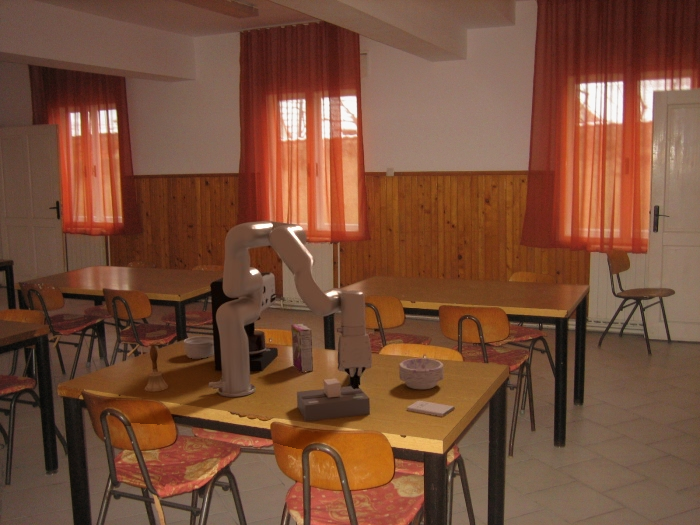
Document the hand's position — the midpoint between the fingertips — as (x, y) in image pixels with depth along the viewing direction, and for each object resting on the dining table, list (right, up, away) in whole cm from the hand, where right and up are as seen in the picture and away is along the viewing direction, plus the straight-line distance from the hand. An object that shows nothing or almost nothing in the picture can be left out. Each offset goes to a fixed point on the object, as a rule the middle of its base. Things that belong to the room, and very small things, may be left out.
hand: (355, 387), depth 217 cm
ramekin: (-64, 0, +73) cm, 97 cm away
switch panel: (-7, -7, -1) cm, 10 cm away
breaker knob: (-7, -2, -2) cm, 8 cm away
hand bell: (-70, -6, +28) cm, 76 cm away
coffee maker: (-43, -1, +57) cm, 71 cm away
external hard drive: (+23, -7, -3) cm, 25 cm away
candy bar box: (-20, -2, +48) cm, 52 cm away
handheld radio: (0, -3, +32) cm, 32 cm away
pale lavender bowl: (+23, -4, +22) cm, 32 cm away
